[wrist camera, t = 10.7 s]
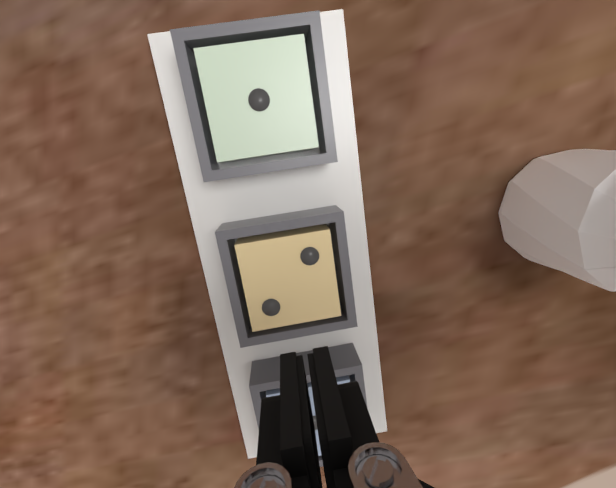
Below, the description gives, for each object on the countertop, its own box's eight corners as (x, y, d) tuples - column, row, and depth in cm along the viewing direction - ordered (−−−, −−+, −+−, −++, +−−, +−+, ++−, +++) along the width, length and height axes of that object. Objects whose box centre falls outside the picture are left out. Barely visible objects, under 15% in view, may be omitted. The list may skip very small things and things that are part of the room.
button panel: (339, 15, 22) (353, -16, 18) (383, 422, 30) (399, 461, 26) (153, 39, 21) (125, 12, 17) (249, 448, 29) (245, 492, 25)
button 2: (324, 222, 23) (330, 229, 21) (335, 300, 25) (341, 316, 22) (238, 236, 23) (234, 245, 21) (254, 314, 25) (252, 332, 22)
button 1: (300, 48, 21) (304, 33, 18) (314, 148, 22) (319, 147, 20) (203, 61, 20) (192, 47, 18) (223, 162, 22) (216, 162, 19)
